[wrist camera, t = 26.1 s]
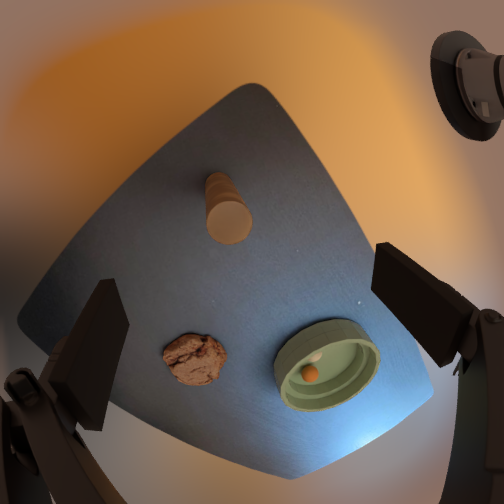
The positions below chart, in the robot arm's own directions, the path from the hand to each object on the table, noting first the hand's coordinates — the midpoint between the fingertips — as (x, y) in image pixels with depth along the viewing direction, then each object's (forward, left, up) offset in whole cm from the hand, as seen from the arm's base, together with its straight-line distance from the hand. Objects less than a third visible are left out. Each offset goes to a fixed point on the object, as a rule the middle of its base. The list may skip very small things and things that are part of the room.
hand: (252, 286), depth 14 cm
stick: (0, -1, -22) cm, 22 cm away
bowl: (-14, +30, -22) cm, 40 cm away
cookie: (+7, +25, -23) cm, 34 cm away
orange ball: (-11, +31, -20) cm, 39 cm away
